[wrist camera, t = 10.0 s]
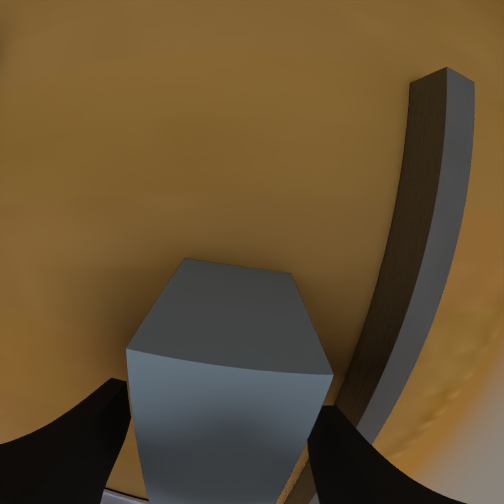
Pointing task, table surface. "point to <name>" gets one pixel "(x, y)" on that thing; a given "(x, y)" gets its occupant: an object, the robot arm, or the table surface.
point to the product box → (224, 385)
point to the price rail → (410, 255)
